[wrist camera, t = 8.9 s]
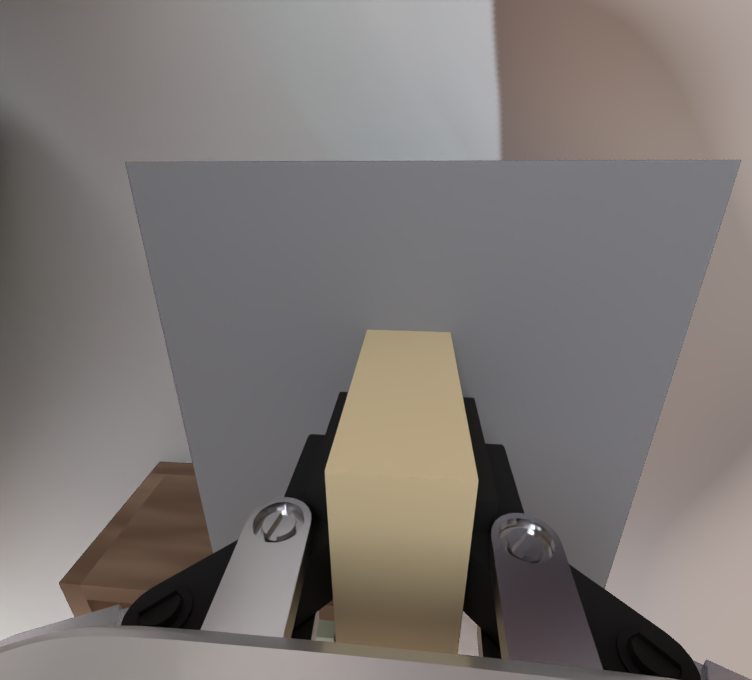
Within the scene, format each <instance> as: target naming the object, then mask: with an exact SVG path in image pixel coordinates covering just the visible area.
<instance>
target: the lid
mask: <svg viewBox="0 0 752 680" xmlns="http://www.w3.org/2000/svg"><path fill="white" fill-rule="evenodd" d="M740 163H741V160H557V161H556V160H545V161H544V160H543V161H541V160H539V161H537V160H536V161H535V160H534V161H533V160H532V161H531V160H528V161H247V162H125V164H126V169H127V173H128V177H129V182H130V186H131V191H132V195H133V200H134V204H135V209H136V213H137V217H138V222H139V226H140V231H141V235H142V240H143V244H144V249H145V253H146V257H147V262H148V266H149V271H150V275H151V280H152V284H153V289H154V293H155V297H156V302H157V306H158V311H159V315H160V320H161V324H162V329H163V333H164V337H165V342H166V346H167V351H168V355H169V360H170V364H171V369H172V373H173V377H174V382H175V386H176V391H177V395H178V400H179V404H180V409H181V413H182V417H183V422H184V426H185V431H186V435H187V440H188V444H189V449H190V453H191V457H192V462H193V466H194V471H195V475H196V480H197V484H198V489H199V493H200V497H201V502H202V506H203V511H204V515H205V520H206V524H207V529H208V533H209V537H210V542H211V546H212V551H213V553H215V552H217V551H218V550H220V549H222V548H224V547H225V546H227V545H229V544H231V543H233V542H234V541H236V540H238V539H239V537H240V535H241V533H242V530H243V528H244V525H245V523H246V521H247V519H248V517H249V516H250V514H251V512H252V511H254V510H255V509H256V508H257V507H258V506H259V505H261V504H263V503H264V502H266V501H268V500H272V499H275V498H281V497H284V495H285V493H286V490H287V488H288V485H289V483H290V480H291V478H292V475H293V473H294V470H295V468H296V465H297V463H298V460H299V458H300V455H301V453H302V450H303V448H304V445H305V443H306V440H307V438H308V436H309V435H310V434H320V435H325V434H326V431H327V428H328V425H329V422H330V419H331V416H332V413H333V410H334V407H335V404H336V401H337V398H338V395H339V393H340V392H348V395H347V398H346V402H345V405H344V408H343V412H342V415H341V418H340V421H339V425H338V428H337V431H336V435H335V438H334V441H333V445H332V448H331V451H330V455H329V458H328V461H327V465H326V468H325V485H326V500H327V515H328V530H329V545H330V560H331V575H332V590H333V605H334V620H335V635H336V643H346V644H357V645H367V646H377V647H388V648H398V649H408V650H418V651H428V652H438V653H448V654H457V653H458V645H459V637H460V629H461V621H462V612H463V604H464V596H465V588H466V580H467V571H468V563H469V555H470V547H471V539H472V530H473V522H474V514H475V506H476V498H477V489H478V481H479V480H478V475H477V470H476V464H475V459H474V454H473V449H472V443H471V438H470V433H469V427H468V422H467V417H466V412H465V406H464V401H463V397H471V398H474V399H475V403H476V407H477V411H478V415H479V419H480V424H481V428H482V432H483V436H484V441H485V444H502V445H503V446H504V448H505V450H506V454H507V457H508V460H509V464H510V467H511V470H512V474H513V477H514V480H515V484H516V487H517V490H518V494H519V497H520V500H521V504H522V507H523V510H524V514H527V515H531V516H534V517H536V518H538V519H540V520H542V521H543V522H545V523H546V524H548V525H549V526H550V527H551V528H552V529H553V530H554V531H555V532H556V533H557V534H558V536H559V538H560V540H561V542H562V545H563V548H564V551H565V554H566V557H567V560H568V563H569V564H570V565H571V566H573V567H574V568H575V569H577V570H578V571H580V572H581V573H582V574H584V575H585V576H587V577H588V578H589V579H591V580H592V581H594V582H595V583H597V584H598V585H599V586H601V587H602V588H604V589H605V586H606V582H607V579H608V576H609V573H610V570H611V567H612V564H613V560H614V557H615V554H616V551H617V548H618V545H619V542H620V539H621V535H622V532H623V529H624V526H625V523H626V520H627V517H628V514H629V510H630V507H631V504H632V501H633V498H634V495H635V492H636V489H637V485H638V482H639V479H640V476H641V473H642V470H643V467H644V464H645V460H646V457H647V454H648V451H649V448H650V445H651V442H652V439H653V435H654V432H655V429H656V426H657V423H658V420H659V416H660V413H661V410H662V407H663V404H664V401H665V398H666V394H667V392H668V388H669V385H670V382H671V379H672V376H673V373H674V370H675V366H676V363H677V360H678V357H679V354H680V351H681V348H682V345H683V341H684V338H685V335H686V332H687V329H688V326H689V323H690V320H691V316H692V313H693V310H694V307H695V304H696V301H697V298H698V295H699V291H700V288H701V285H702V282H703V279H704V275H705V273H706V269H707V266H708V263H709V260H710V257H711V254H712V251H713V248H714V244H715V241H716V238H717V235H718V232H719V229H720V225H721V223H722V219H723V216H724V213H725V210H726V207H727V204H728V201H729V197H730V194H731V191H732V188H733V185H734V182H735V178H736V175H737V172H738V169H739V166H740Z"/></svg>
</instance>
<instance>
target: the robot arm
mask: <svg viewBox="0 0 752 680" xmlns="http://www.w3.org/2000/svg"><path fill="white" fill-rule="evenodd" d="M347 395H348V392H340V393H339V395H338V398H337V401H336V404H335V407H334V410H333V413H332V416H331V419H330V422H329V425H328V428H327V431H326V434H325V435H320V434H310V435H309V436H308V438H307V440H306V443H305V445H304V448H303V450H302V453H301V455H300V458H299V460H298V463H297V465H296V468H295V470H294V473H293V475H292V478H291V480H290V483H289V485H288V488H287V490H286V493H285V495H284V497H281V498H275V499H272V500H268V501H266V502H264V503H263V504H261V505H259V506H258V507H257V508H256V509H255V510H254V511H252V512H251V514H250V516H249V517H248V519H247V521H246V523H245V525H244V528H243V530H242V533H241V535H240V537H239V539H238V540H236V541H234V542H233V543H231V544H229V545H227V546H225V547H224V548H222V549H220V550H218V551H217V552H215V553H213V554H211V555H209V556H208V557H206V558H204V559H202V560H200V561H199V562H197V563H195V564H193V565H191V566H190V567H188V568H186V569H184V570H183V571H181V572H179V573H177V574H175V575H174V576H172V577H170V578H168V579H166V580H165V581H163V582H161V583H159V584H157V585H156V586H154V587H152V588H151V589H149V590H148V591H146V592H145V593H143V594H142V595H141V596H140V597H139V598H138V599H137V600H136V601H135V602H134V603H133V604H132V605H131V606H130V607H129V608H125V609H122V608H121V605H120V604H118V605H115V606H111V607H108V608H105V609H101V610H98V611H94V612H91V613H88V614H84V615H81V616H77V617H74V618H71V619H67V620H64V621H60V622H57V623H54V624H50V625H47V626H43V627H40V628H36V629H33V630H30V631H26V632H23V633H19V634H16V635H14V636H11V637H9V638H7V639H4V640H2V641H0V680H751V679H749V678H746V677H744V676H742V675H740V674H737V673H735V672H733V671H731V670H729V669H726V668H724V667H722V666H720V665H717V664H715V663H713V662H711V661H709V660H706V661H705V663H704V665H702V664H700V663H698V662H696V661H693V660H692V658H691V657H690V656H689V655H688V654H687V652H686V651H685V650H684V649H683V647H682V646H681V645H680V644H679V643H678V642H676V641H675V640H674V639H673V638H672V637H670V636H669V635H668V634H667V633H665V632H664V631H663V630H661V629H660V628H658V627H657V626H656V625H654V624H653V623H651V622H650V621H649V620H647V619H646V618H644V617H643V616H642V615H640V614H639V613H637V612H636V611H634V610H633V609H632V608H630V607H629V606H627V605H626V604H625V603H623V602H622V601H620V600H619V599H618V598H616V597H615V596H613V595H612V594H611V593H609V592H608V591H606V590H605V589H604V588H602V587H601V586H599V585H598V584H597V583H595V582H594V581H592V580H591V579H589V578H588V577H587V576H585V575H584V574H582V573H581V572H580V571H578V570H577V569H575V568H574V567H573V566H571V565H570V564H569V563H568V560H567V557H566V554H565V551H564V548H563V545H562V542H561V540H560V538H559V536H558V534H557V533H556V532H555V531H554V530H553V529H552V528H551V527H550V526H549V525H548V524H546V523H545V522H543V521H542V520H540V519H538V518H536V517H534V516H531V515H527V514H524V510H523V507H522V504H521V500H520V497H519V494H518V490H517V487H516V484H515V480H514V477H513V474H512V470H511V467H510V464H509V460H508V457H507V454H506V450H505V448H504V446H503V445H502V444H485V441H484V436H483V432H482V428H481V424H480V419H479V415H478V411H477V407H476V403H475V399H474V398H471V397H463V401H464V406H465V412H466V417H467V422H468V427H469V433H470V438H471V443H472V449H473V454H474V459H475V464H476V470H477V475H478V480H479V481H478V489H477V498H476V506H475V514H474V522H473V530H472V539H471V547H470V555H469V563H468V571H467V580H466V588H465V596H464V604H463V611H464V612H465V613H466V614H467V615H468V616H469V617H470V618H471V619H472V620H473V621H474V622H475V623H476V624H477V638H478V650H479V657H478V656H468V655H458V654H448V653H438V652H428V651H418V650H408V649H398V648H388V647H377V646H367V645H357V644H346V643H336V642H326V641H315V640H316V634H317V628H318V622H319V610H320V609H321V608H323V607H324V606H325V605H327V604H328V603H329V602H331V601H332V600H333V590H332V575H331V560H330V545H329V530H328V515H327V500H326V485H325V468H326V465H327V461H328V458H329V455H330V451H331V448H332V445H333V441H334V438H335V435H336V431H337V428H338V425H339V421H340V418H341V415H342V412H343V408H344V405H345V402H346V398H347Z"/></svg>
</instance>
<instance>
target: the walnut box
mask: <svg viewBox="0 0 752 680" xmlns="http://www.w3.org/2000/svg"><path fill="white" fill-rule="evenodd" d="M211 554H213V551H212V546H211V542H210V537H209V533H208V529H207V524H206V520H205V515H204V511H203V506H202V502H201V497H200V493H199V489H198V484H197V480H196V475H195V471H194V466H193V464H187V463H169V462H159V463H158V464H157V466H156V467H155V468H154V469H153V470H152V472H151V473H150V474H149V475H148V476H147V478H146V479H145V480H144V481H143V482H142V484H141V485H140V486H139V487H138V488H137V490H136V491H135V492H134V493H133V494H132V496H131V497H130V498H129V499H128V500H127V502H126V503H125V504H124V505H123V506H122V508H121V509H120V510H119V511H118V512H117V514H116V515H115V516H114V517H113V518H112V520H111V521H110V522H109V523H108V525H107V526H106V527H105V528H104V529H103V531H102V532H101V533H100V534H99V535H98V537H97V538H96V539H95V540H94V541H93V543H92V544H91V545H90V546H89V547H88V549H87V550H86V551H85V552H84V553H83V555H82V556H81V557H80V558H79V559H78V561H77V562H76V563H75V564H74V565H73V567H72V568H71V569H70V570H69V571H68V573H67V574H66V575H65V576H64V577H63V579H62V580H61V581H60V582H59V585H60V587H61V589H62V591H63V593H64V595H65V597H66V600H67V602H68V604H69V606H70V608H71V610H72V612H73V614H74V617H77V616H81V615H84V614H88V613H91V612H94V611H98V610H101V609H105V608H108V607H111V606H115V605H118V604H120V605H121V608H122V609H125V608H129V607H130V606H131V605H132V604H133V603H134V602H135V601H136V600H137V599H138V598H139V597H140V596H141V595H142V594H143V593H145V592H146V591H148V590H149V589H151V588H152V587H154V586H156V585H157V584H159V583H161V582H163V581H165V580H166V579H168V578H170V577H172V576H174V575H175V574H177V573H179V572H181V571H183V570H184V569H186V568H188V567H190V566H191V565H193V564H195V563H197V562H199V561H200V560H202V559H204V558H206V557H208V556H209V555H211ZM319 620H330V621H335V620H334V605H333V600H332V601H331V602H329V603H328V604H327V605H325V606H324V607H323V608H321V609H320V610H319Z"/></svg>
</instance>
